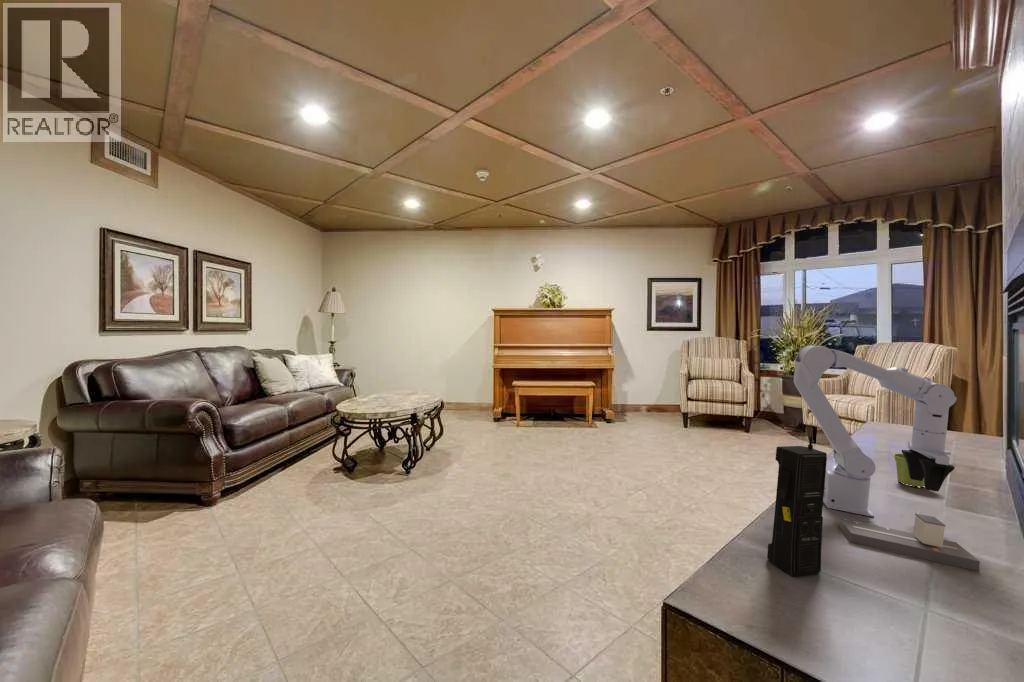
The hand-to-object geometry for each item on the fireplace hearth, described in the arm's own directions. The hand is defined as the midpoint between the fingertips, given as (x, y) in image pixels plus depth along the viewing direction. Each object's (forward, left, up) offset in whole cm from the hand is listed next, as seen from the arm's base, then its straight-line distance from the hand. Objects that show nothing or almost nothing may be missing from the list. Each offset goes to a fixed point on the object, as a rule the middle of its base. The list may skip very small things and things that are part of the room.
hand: (923, 484), depth 98 cm
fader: (-6, -19, -7) cm, 21 cm away
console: (-10, -19, -9) cm, 23 cm away
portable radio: (-34, -42, -10) cm, 55 cm away
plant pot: (+11, +35, -10) cm, 38 cm away
